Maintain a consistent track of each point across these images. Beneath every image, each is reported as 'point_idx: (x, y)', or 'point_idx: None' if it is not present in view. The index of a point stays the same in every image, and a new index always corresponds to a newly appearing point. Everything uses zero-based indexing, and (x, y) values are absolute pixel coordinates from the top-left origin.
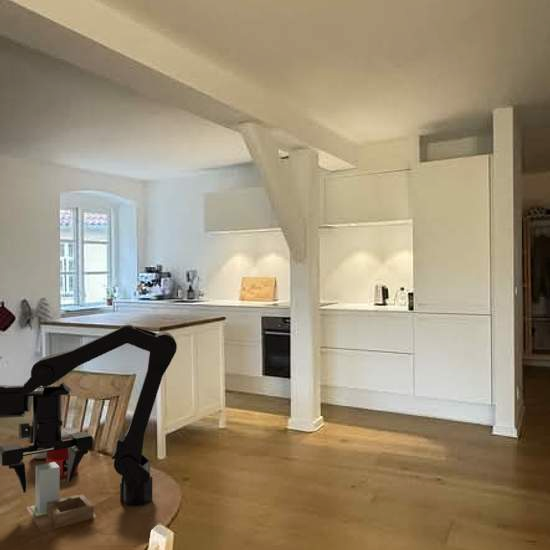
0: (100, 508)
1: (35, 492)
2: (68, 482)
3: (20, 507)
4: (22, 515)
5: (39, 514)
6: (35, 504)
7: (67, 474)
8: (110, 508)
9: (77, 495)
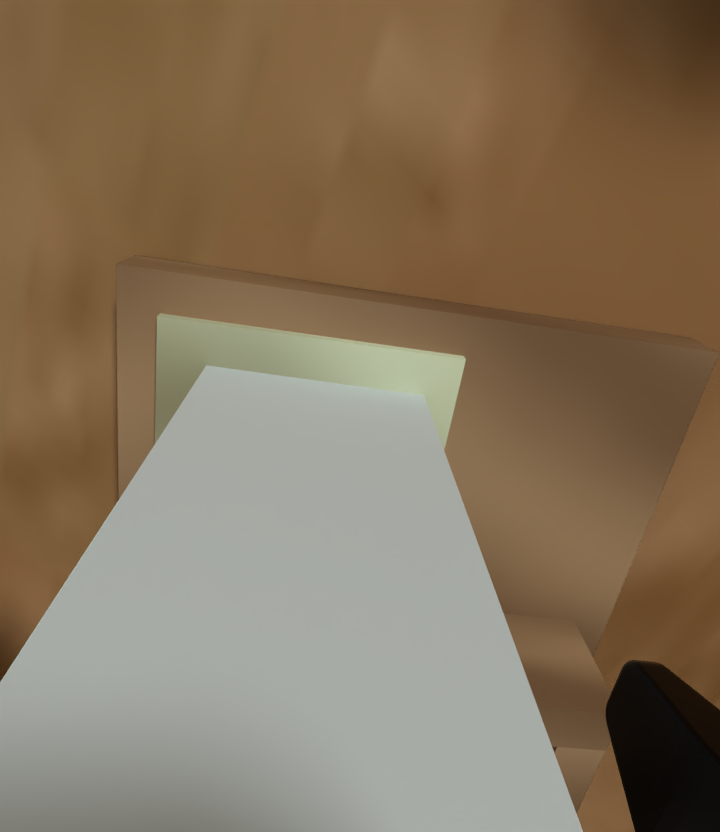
0: (670, 645)
1: (154, 448)
2: (609, 697)
3: (110, 54)
4: (86, 320)
5: None
6: (199, 379)
7: (695, 772)
8: (714, 688)
9: (567, 710)
